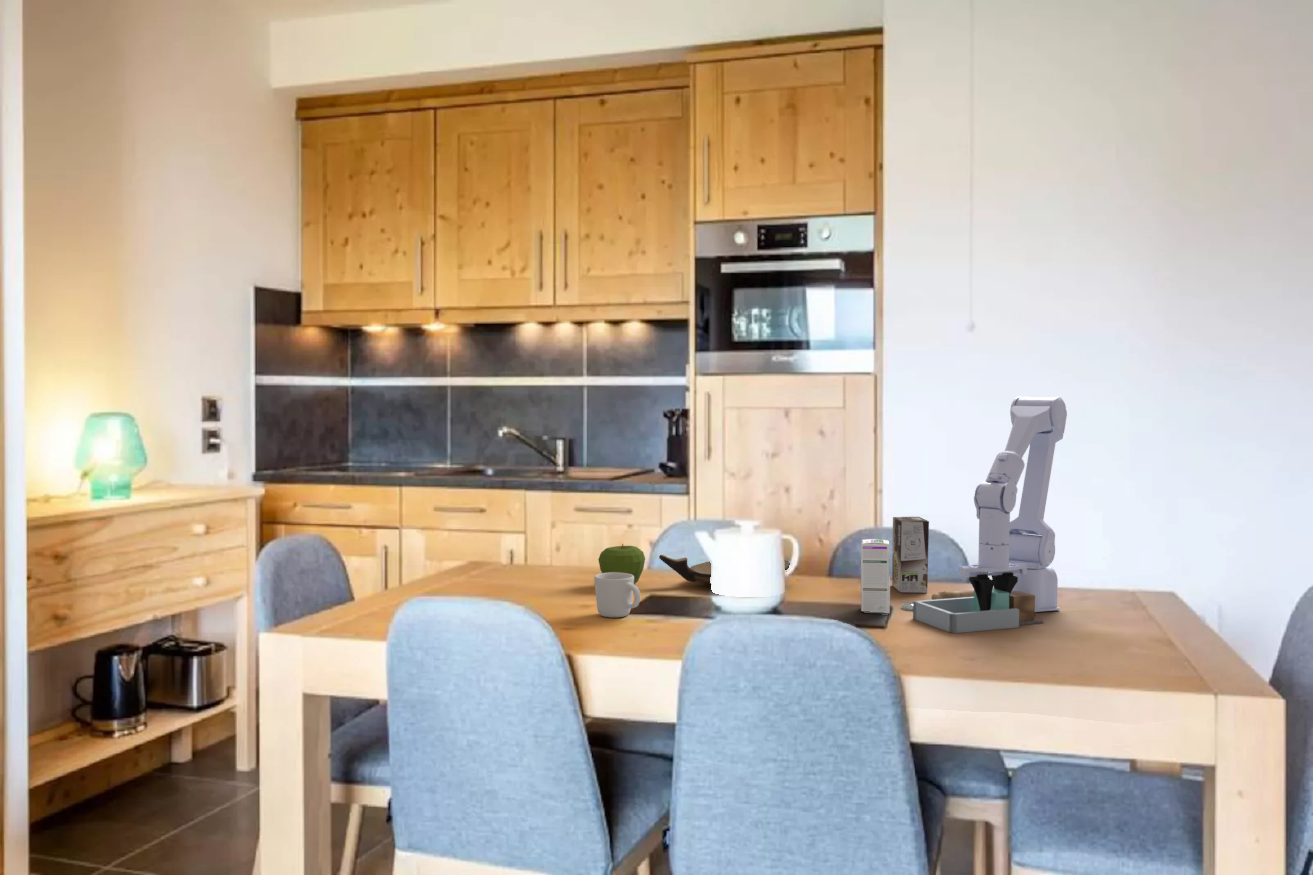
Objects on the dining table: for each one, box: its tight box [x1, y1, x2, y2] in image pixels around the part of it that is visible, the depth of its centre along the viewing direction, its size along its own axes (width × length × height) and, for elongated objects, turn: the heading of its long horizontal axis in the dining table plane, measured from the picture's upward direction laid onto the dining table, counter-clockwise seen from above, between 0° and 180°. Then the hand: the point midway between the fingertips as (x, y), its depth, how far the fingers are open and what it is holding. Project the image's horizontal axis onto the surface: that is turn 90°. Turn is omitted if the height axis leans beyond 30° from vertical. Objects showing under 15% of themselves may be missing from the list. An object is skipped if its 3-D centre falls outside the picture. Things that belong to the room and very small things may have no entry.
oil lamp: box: [658, 554, 791, 585], centre depth 246 cm, size 22×30×8 cm
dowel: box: [930, 589, 974, 600], centre depth 228 cm, size 12×2×2 cm, turn 110°
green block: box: [973, 587, 1009, 612], centre depth 210 cm, size 3×7×6 cm, turn 20°
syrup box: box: [860, 538, 891, 614], centre depth 217 cm, size 6×6×14 cm
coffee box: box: [891, 516, 930, 594], centre depth 241 cm, size 9×6×16 cm
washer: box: [901, 601, 913, 612], centre depth 221 cm, size 4×4×1 cm
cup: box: [593, 572, 641, 619], centre depth 211 cm, size 11×8×8 cm
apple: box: [597, 543, 646, 585], centre depth 242 cm, size 11×10×10 cm
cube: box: [1009, 591, 1036, 622], centre depth 211 cm, size 5×5×5 cm
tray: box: [912, 597, 1020, 634], centre depth 207 cm, size 15×13×4 cm
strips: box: [1019, 619, 1044, 626], centre depth 211 cm, size 6×10×1 cm, turn 20°
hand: (992, 612), depth 209 cm, fingers closed on green block, 3 cm apart
